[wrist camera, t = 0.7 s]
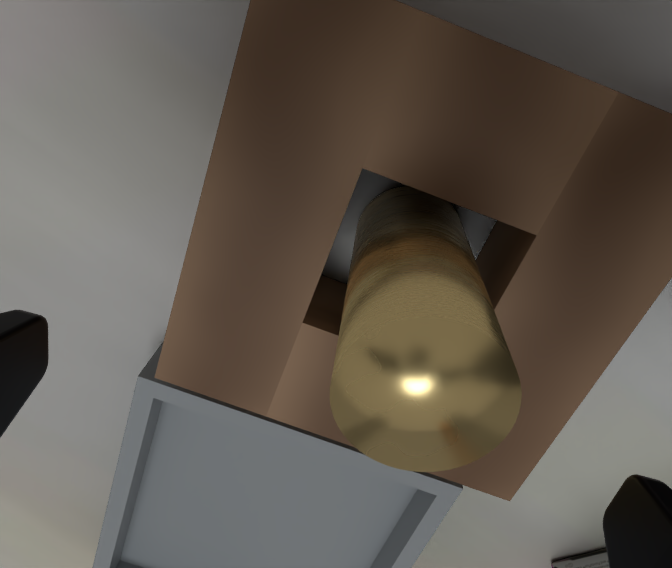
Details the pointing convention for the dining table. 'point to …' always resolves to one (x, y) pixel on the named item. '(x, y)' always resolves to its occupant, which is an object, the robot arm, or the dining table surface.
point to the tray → (255, 492)
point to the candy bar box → (585, 561)
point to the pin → (420, 342)
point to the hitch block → (428, 176)
